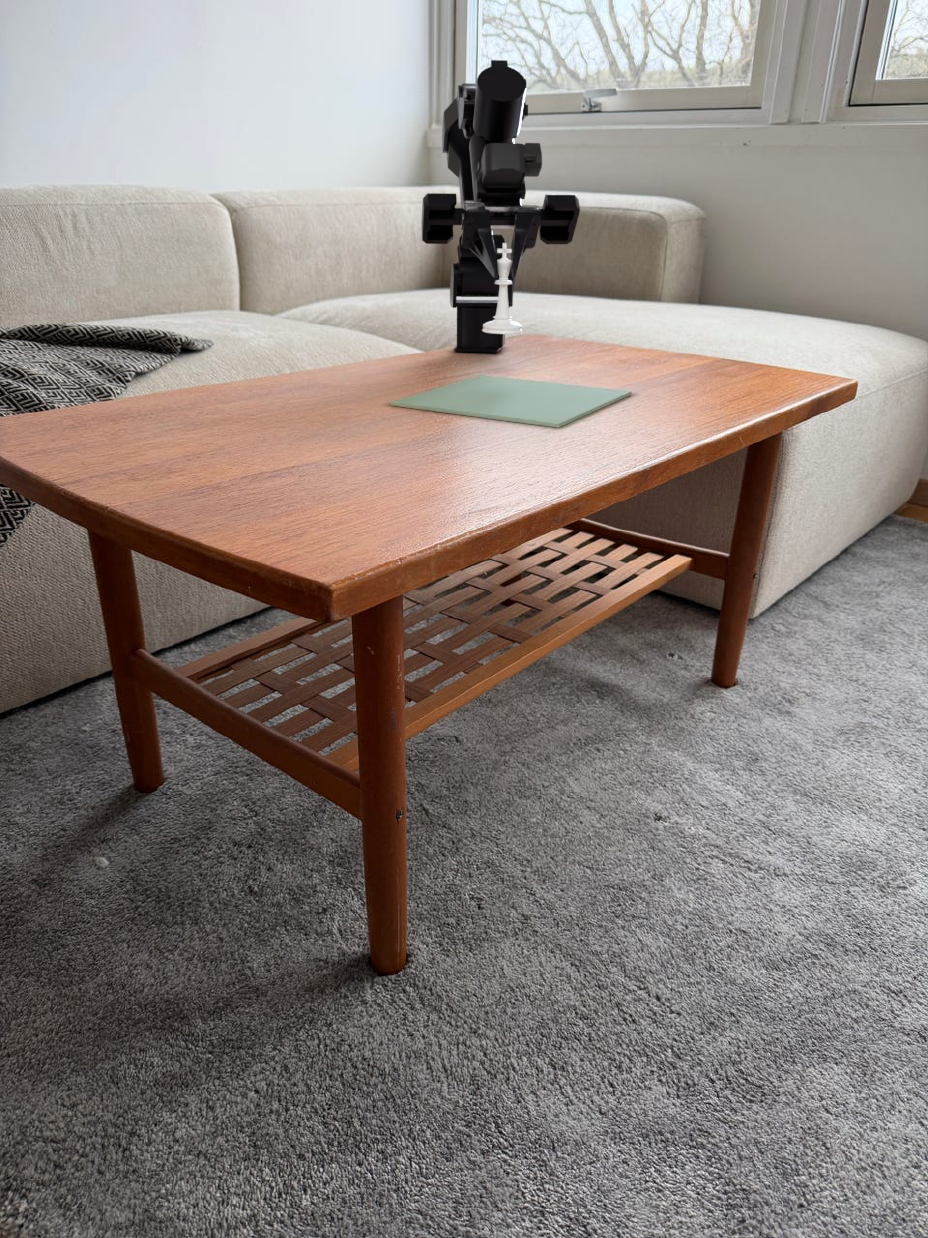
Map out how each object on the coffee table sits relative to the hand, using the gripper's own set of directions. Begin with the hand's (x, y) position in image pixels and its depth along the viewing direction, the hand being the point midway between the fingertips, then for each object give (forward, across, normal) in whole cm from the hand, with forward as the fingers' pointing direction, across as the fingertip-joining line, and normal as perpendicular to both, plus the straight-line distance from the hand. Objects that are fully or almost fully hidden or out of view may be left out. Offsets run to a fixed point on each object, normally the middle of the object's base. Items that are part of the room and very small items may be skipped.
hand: (505, 275), depth 108 cm
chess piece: (+4, 0, +6) cm, 7 cm away
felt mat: (+17, 0, 0) cm, 17 cm away
